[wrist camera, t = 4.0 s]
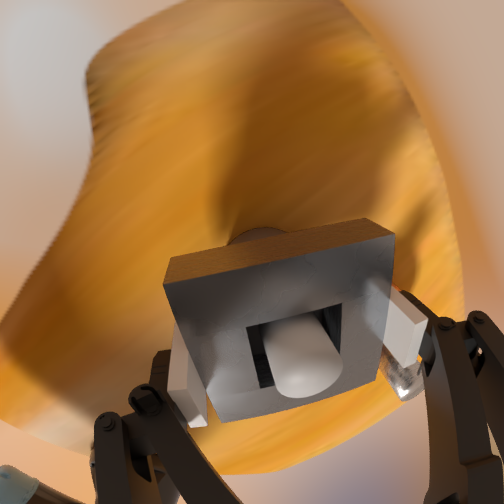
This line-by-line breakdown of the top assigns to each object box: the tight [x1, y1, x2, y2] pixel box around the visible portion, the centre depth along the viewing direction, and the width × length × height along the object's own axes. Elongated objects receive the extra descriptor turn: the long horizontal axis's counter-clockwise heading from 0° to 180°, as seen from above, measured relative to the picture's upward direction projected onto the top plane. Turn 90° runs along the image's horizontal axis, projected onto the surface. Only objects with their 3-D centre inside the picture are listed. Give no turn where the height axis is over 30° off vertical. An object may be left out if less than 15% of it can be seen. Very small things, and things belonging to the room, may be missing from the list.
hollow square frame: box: [163, 218, 395, 423], centre depth 12 cm, size 9×9×2 cm
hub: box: [378, 283, 424, 401], centre depth 18 cm, size 8×8×9 cm
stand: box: [229, 227, 343, 398], centre depth 14 cm, size 6×6×10 cm
